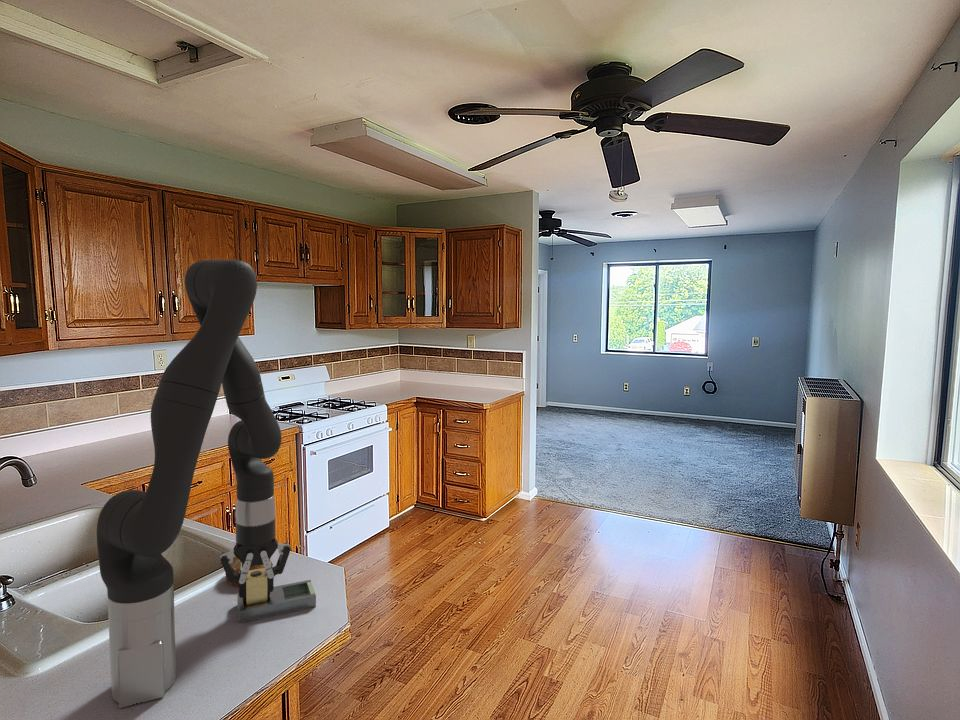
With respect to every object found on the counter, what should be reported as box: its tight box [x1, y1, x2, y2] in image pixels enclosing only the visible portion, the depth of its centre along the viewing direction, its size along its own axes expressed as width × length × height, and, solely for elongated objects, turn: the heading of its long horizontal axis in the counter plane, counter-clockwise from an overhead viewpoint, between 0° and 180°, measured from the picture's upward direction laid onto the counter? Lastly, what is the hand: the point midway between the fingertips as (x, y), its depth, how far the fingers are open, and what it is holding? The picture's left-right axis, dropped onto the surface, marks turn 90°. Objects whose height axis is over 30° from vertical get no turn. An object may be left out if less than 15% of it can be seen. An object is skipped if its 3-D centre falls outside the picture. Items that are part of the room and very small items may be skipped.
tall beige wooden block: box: [244, 568, 268, 608], centre depth 113 cm, size 4×4×8 cm
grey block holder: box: [236, 579, 317, 624], centre depth 115 cm, size 7×15×2 cm, turn 116°
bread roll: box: [224, 556, 274, 588], centre depth 126 cm, size 10×10×8 cm
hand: (256, 595), depth 113 cm, fingers closed on tall beige wooden block, 4 cm apart
